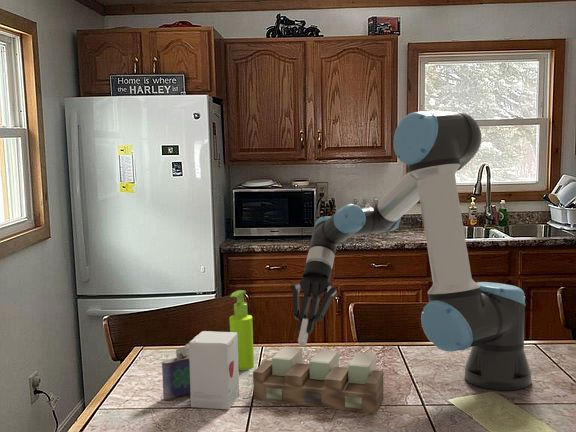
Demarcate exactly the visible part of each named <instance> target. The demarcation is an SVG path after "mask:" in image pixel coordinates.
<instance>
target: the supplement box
mask: <svg viewBox="0 0 576 432" xmlns="http://www.w3.org/2000/svg"><path fill="white" fill-rule="evenodd" d="M188 344H189V362H190V392H191V395H190V408H197V409H198V408H200V409H201V408H202V409H214V410H215V409H216V410H230V408H231V407H232V406H233V404H234V403H235V402H236V400H237V398H238V397H239V396H240V379H239V377H240V375H239V371H240V370H238V339H237V332H230V331H213V330H212V331H210V330H208V331H207V330H202V331H201V332H199V334H197V335H196V336H194V337H193V339H191V340H190V341H189V342H188Z"/></svg>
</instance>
